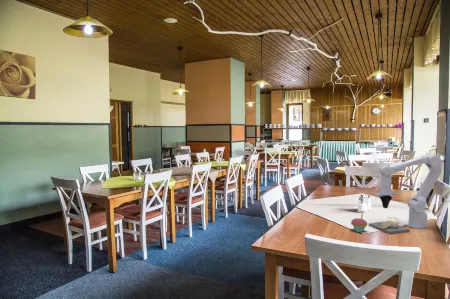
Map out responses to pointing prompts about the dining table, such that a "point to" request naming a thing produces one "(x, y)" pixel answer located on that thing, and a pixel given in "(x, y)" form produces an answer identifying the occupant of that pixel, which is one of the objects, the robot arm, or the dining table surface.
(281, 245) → the dining table surface
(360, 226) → the cupcake
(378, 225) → the post board
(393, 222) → the cream ball joystick
